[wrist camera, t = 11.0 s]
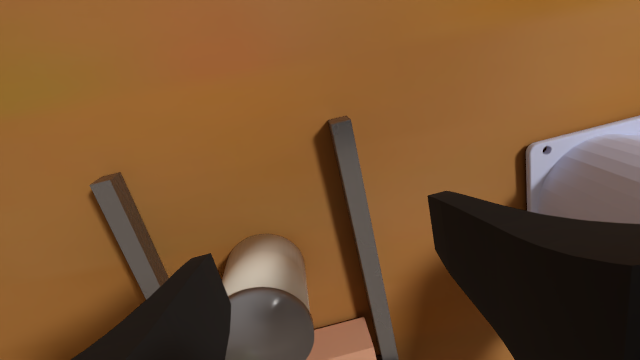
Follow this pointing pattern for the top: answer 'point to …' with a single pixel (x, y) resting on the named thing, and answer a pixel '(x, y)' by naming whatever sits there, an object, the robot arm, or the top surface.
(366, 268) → the lane
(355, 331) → the bar
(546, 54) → the top surface
